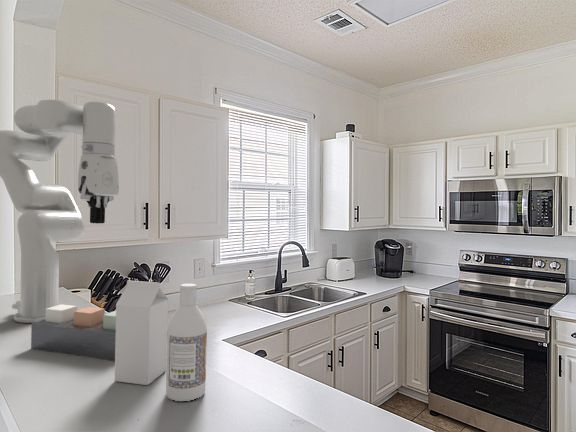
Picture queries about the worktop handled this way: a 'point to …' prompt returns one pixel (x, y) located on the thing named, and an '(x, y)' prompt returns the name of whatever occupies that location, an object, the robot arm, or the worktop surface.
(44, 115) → the robot arm
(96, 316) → the peach key
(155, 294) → the milk carton
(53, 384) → the worktop surface
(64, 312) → the ivory key
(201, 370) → the bath foam
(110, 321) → the pale green block
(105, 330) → the grey socket block
